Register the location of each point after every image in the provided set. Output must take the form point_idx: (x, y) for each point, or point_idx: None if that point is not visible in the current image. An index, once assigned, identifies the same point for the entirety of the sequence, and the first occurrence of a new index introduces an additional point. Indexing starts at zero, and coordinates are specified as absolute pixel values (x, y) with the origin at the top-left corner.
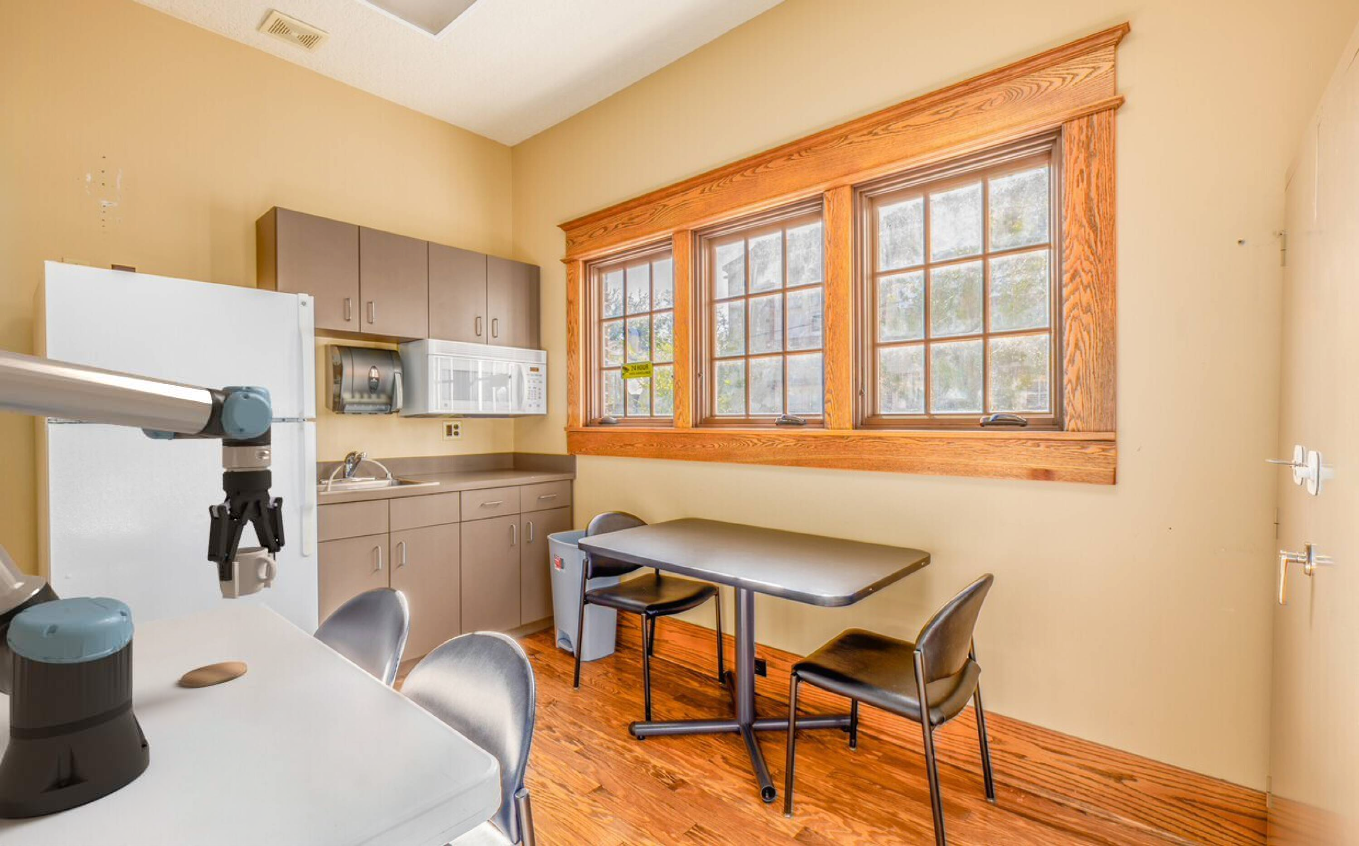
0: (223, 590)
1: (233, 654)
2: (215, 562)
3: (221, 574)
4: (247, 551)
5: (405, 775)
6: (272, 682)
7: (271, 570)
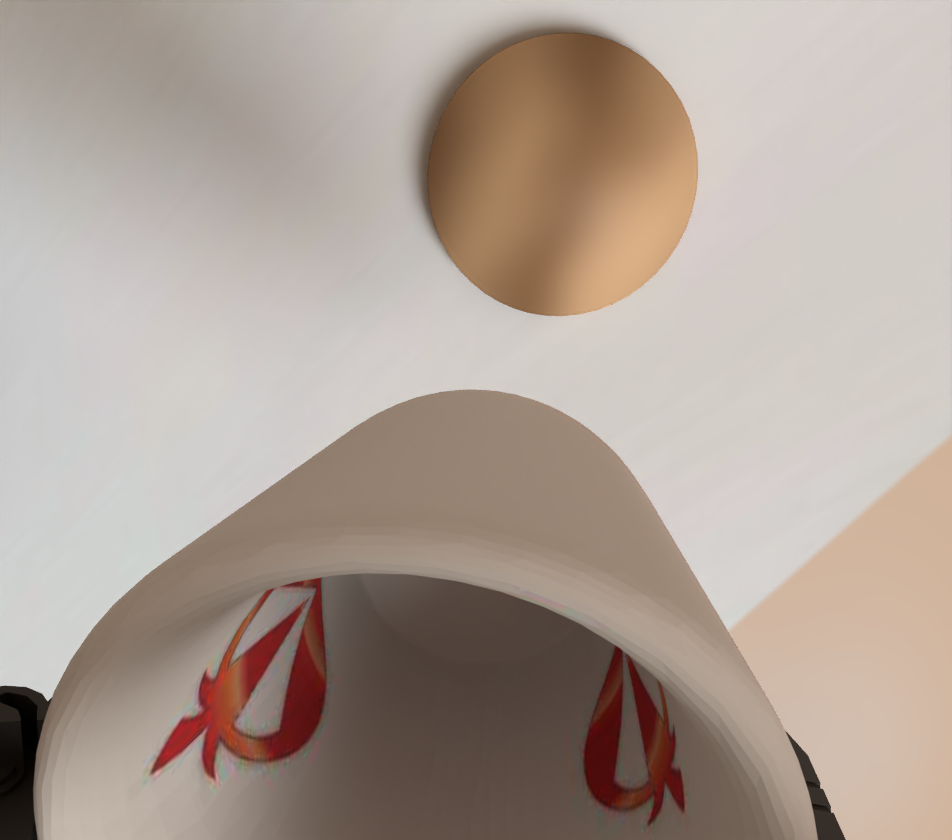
0: None
1: (884, 20)
2: (6, 687)
3: None
4: (704, 754)
5: None
6: None
7: None
